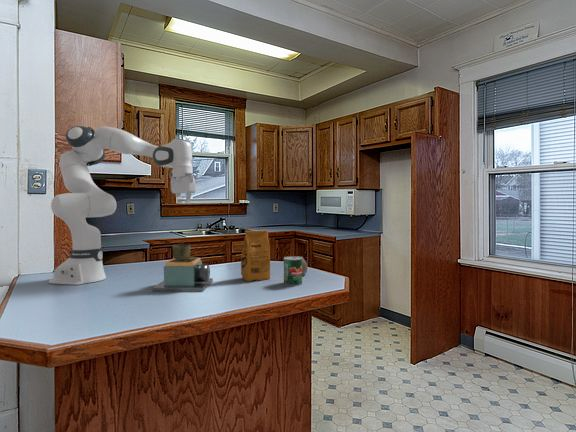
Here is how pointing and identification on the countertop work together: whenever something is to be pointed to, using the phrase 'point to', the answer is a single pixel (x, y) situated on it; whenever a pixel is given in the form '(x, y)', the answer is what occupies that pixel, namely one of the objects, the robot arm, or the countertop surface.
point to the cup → (181, 252)
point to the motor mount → (184, 276)
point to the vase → (303, 266)
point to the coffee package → (255, 256)
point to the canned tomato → (292, 271)
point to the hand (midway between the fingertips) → (183, 203)
